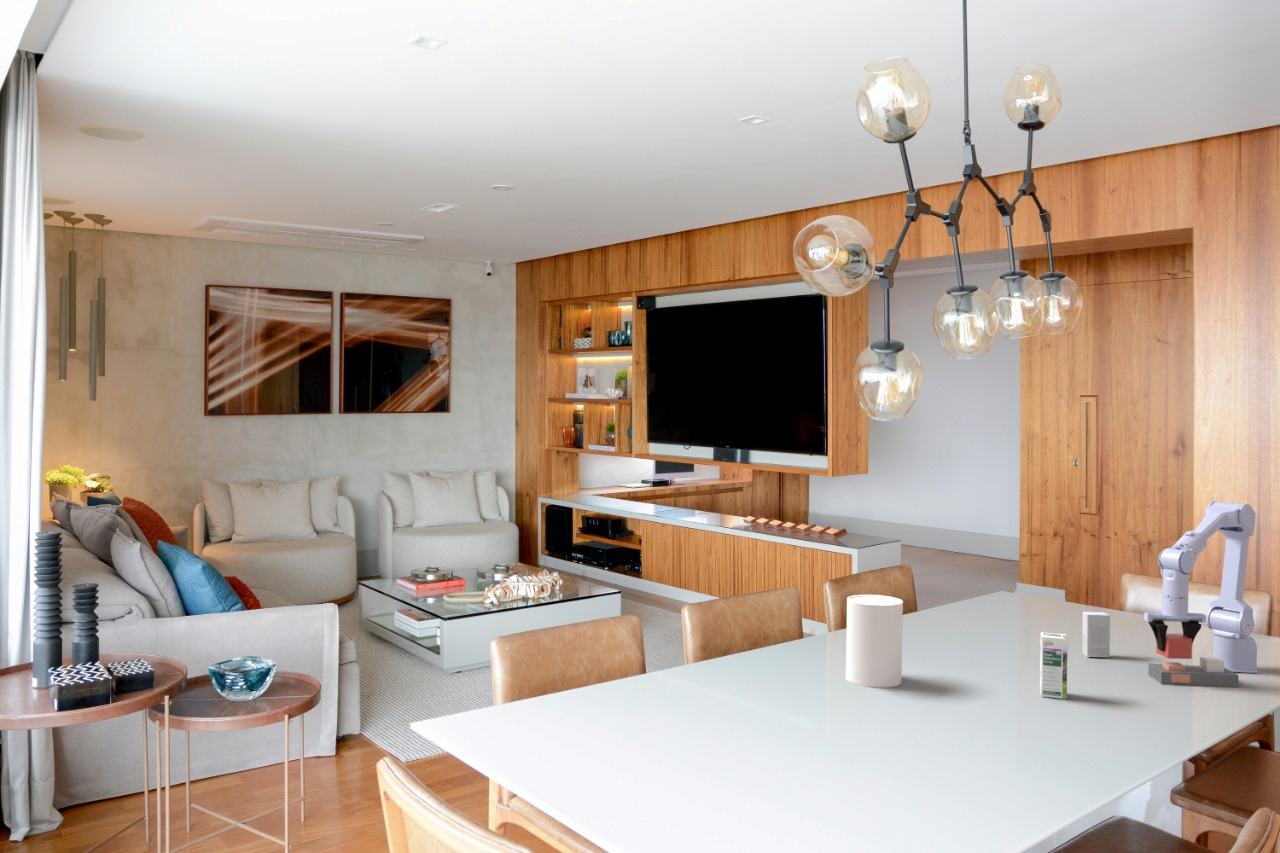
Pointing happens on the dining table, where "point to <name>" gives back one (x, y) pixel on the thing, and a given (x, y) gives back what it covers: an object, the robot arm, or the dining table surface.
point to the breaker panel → (1193, 676)
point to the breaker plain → (1212, 664)
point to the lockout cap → (1176, 647)
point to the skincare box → (1096, 634)
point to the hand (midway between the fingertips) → (1174, 650)
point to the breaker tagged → (1173, 666)
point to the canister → (874, 640)
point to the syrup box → (1053, 665)
